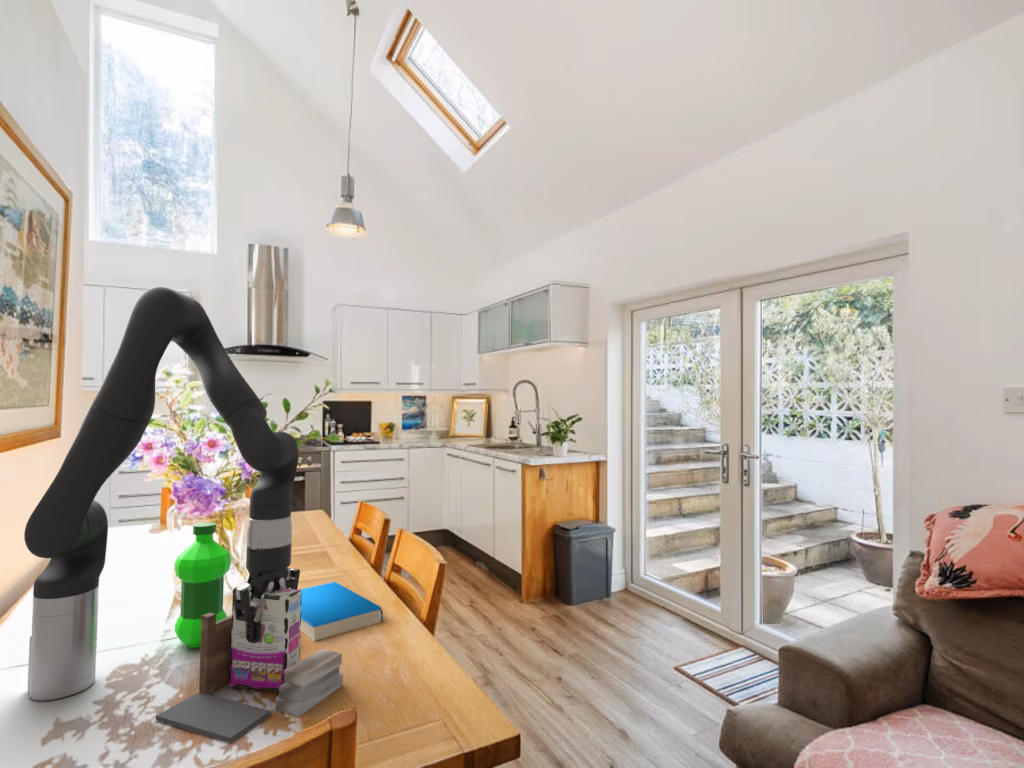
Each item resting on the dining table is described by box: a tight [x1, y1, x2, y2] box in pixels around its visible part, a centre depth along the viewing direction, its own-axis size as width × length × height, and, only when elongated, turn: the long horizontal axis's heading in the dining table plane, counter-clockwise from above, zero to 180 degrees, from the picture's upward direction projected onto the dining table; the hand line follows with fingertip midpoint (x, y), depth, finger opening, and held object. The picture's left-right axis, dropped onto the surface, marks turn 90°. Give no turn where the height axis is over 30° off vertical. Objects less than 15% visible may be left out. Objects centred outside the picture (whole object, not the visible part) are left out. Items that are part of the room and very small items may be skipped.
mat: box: [155, 691, 272, 744], centre depth 90 cm, size 16×8×1 cm, turn 69°
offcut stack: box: [275, 648, 344, 717], centre depth 96 cm, size 5×11×6 cm, turn 159°
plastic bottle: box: [174, 522, 232, 649], centre depth 119 cm, size 10×10×25 cm
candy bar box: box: [229, 588, 302, 692], centre depth 100 cm, size 11×5×16 cm, turn 80°
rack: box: [198, 613, 232, 696], centre depth 103 cm, size 2×15×14 cm, turn 159°
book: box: [299, 581, 384, 642], centre depth 134 cm, size 17×4×25 cm
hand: (266, 634), depth 100 cm, fingers closed on candy bar box, 5 cm apart
